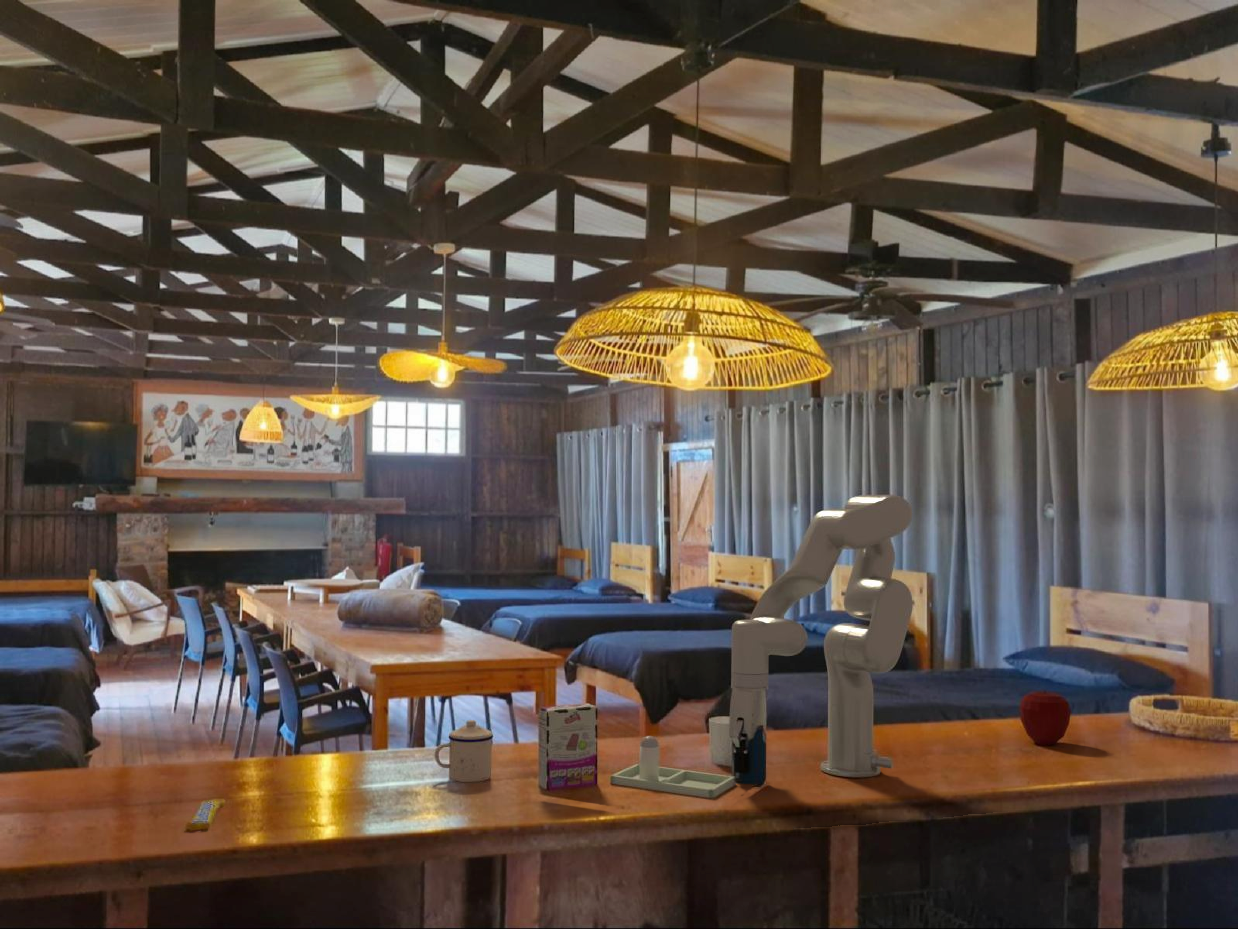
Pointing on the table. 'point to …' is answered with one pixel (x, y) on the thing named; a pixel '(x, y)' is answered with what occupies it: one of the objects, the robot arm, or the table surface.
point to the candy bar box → (567, 746)
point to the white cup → (720, 741)
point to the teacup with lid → (468, 753)
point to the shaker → (649, 759)
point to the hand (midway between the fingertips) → (748, 768)
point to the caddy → (676, 781)
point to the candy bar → (205, 815)
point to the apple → (1045, 716)
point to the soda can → (754, 760)
